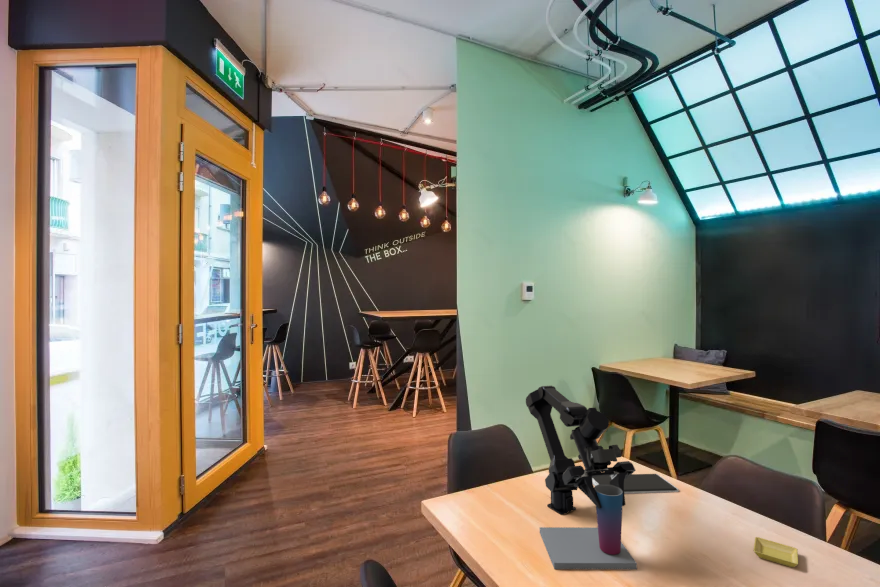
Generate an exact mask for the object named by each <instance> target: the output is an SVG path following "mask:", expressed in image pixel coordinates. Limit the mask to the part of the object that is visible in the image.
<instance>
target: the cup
mask: <svg viewBox="0 0 880 587" xmlns="http://www.w3.org/2000/svg"><path fill="white" fill-rule="evenodd" d="M594 488H595V491H596V493H597V496H598V498H599V501H600V504H601V508H600V509H598V508H597V506H596V505H595V508H596V509H595V511H596V522H597V527H598V535H599V547H600V549H601V550H602V551H603V552H605V553H607V554H612V555H615V554H619V553H620V551H621V542H622V526H623V525H622V522H623V506H622V502H623V491H622V489H620V488H619V487H617V486H614V485H610V484H599V485H596V486H594Z"/></svg>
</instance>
